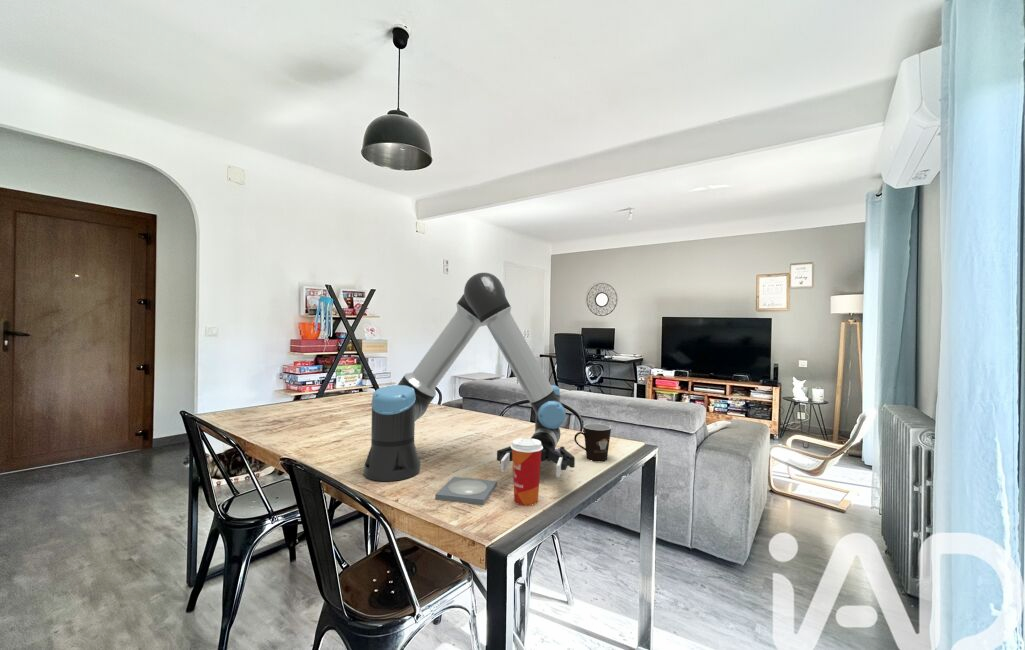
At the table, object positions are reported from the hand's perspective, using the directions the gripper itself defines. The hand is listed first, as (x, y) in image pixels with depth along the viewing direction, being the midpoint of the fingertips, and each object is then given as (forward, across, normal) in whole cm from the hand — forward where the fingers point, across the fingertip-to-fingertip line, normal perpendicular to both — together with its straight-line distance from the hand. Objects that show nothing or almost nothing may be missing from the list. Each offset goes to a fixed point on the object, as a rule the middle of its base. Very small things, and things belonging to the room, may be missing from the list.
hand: (529, 468), depth 99 cm
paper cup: (+1, +1, -8) cm, 8 cm away
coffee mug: (-36, -14, -8) cm, 39 cm away
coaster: (0, +16, -7) cm, 17 cm away
